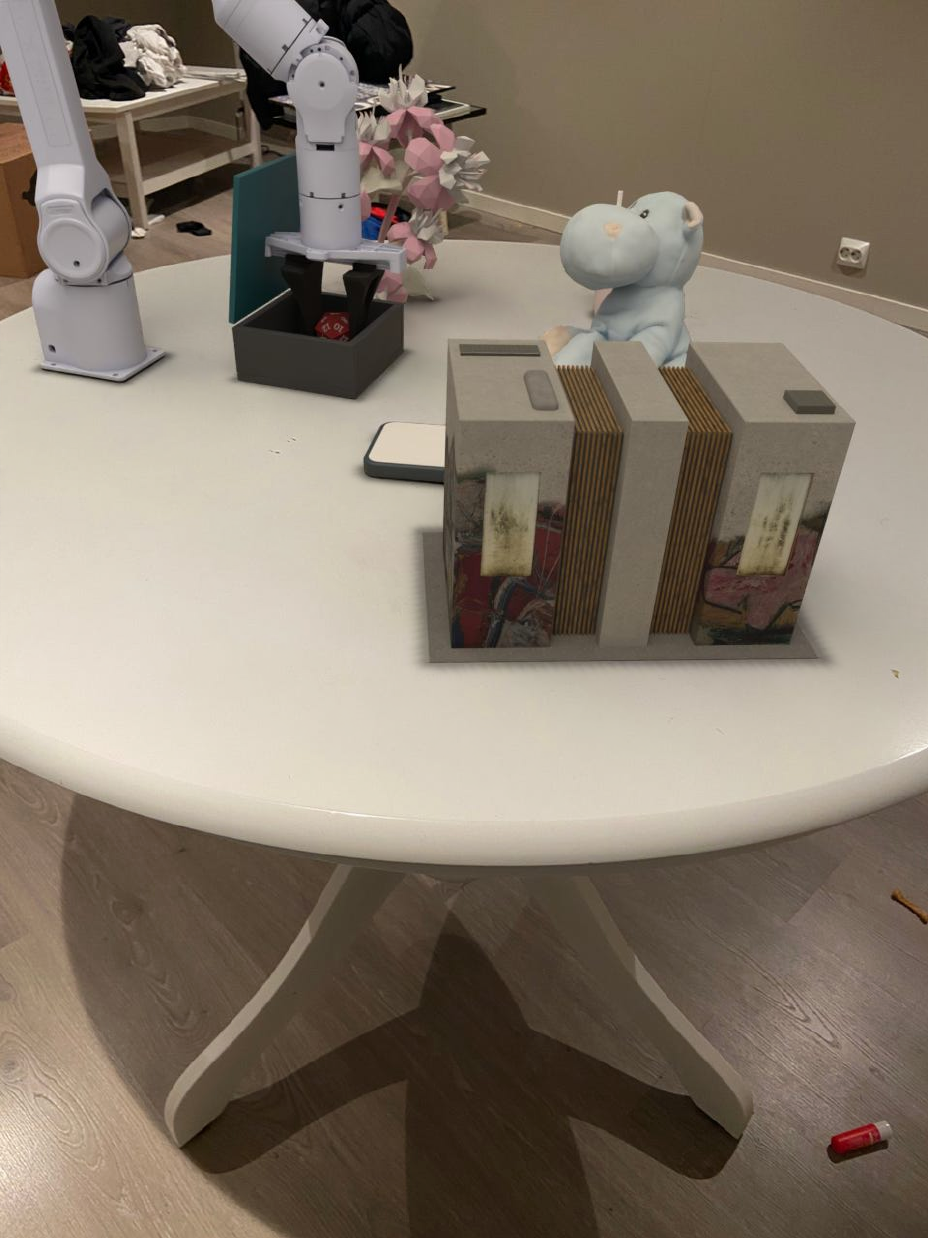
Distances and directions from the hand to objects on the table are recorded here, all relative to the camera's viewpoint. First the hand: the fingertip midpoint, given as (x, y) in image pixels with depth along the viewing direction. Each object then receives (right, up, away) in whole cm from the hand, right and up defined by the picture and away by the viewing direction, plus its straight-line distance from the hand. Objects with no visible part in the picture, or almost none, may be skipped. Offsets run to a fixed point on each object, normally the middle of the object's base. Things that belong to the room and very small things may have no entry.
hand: (336, 336), depth 96 cm
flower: (+4, +8, +17) cm, 19 cm away
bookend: (+23, -27, -29) cm, 46 cm away
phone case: (+13, -15, -14) cm, 25 cm away
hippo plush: (+30, -5, 0) cm, 30 cm away
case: (-2, -2, +2) cm, 4 cm away
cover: (-6, +9, -4) cm, 11 cm away
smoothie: (+30, +7, +18) cm, 36 cm away
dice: (0, -1, +1) cm, 2 cm away
